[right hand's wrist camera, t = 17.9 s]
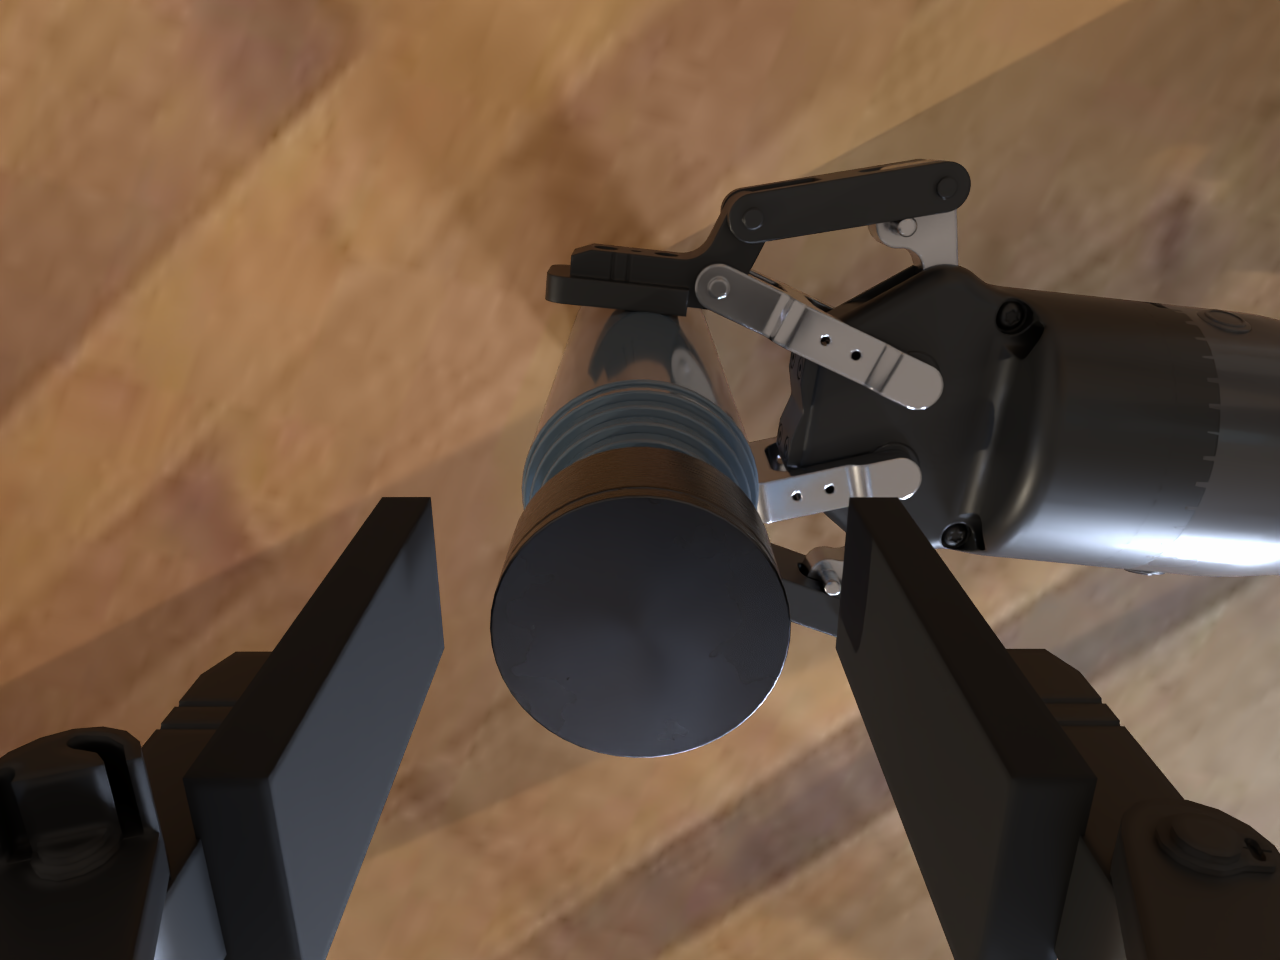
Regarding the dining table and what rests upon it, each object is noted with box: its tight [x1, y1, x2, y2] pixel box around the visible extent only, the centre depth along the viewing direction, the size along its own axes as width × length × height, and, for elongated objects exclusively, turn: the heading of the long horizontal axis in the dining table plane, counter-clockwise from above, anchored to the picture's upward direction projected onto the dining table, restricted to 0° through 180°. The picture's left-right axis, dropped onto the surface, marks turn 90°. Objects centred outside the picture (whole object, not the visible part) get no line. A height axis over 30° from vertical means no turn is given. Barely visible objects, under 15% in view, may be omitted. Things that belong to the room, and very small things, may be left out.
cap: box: [490, 447, 791, 758], centre depth 14 cm, size 4×4×2 cm
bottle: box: [522, 306, 759, 510], centre depth 22 cm, size 5×5×19 cm
